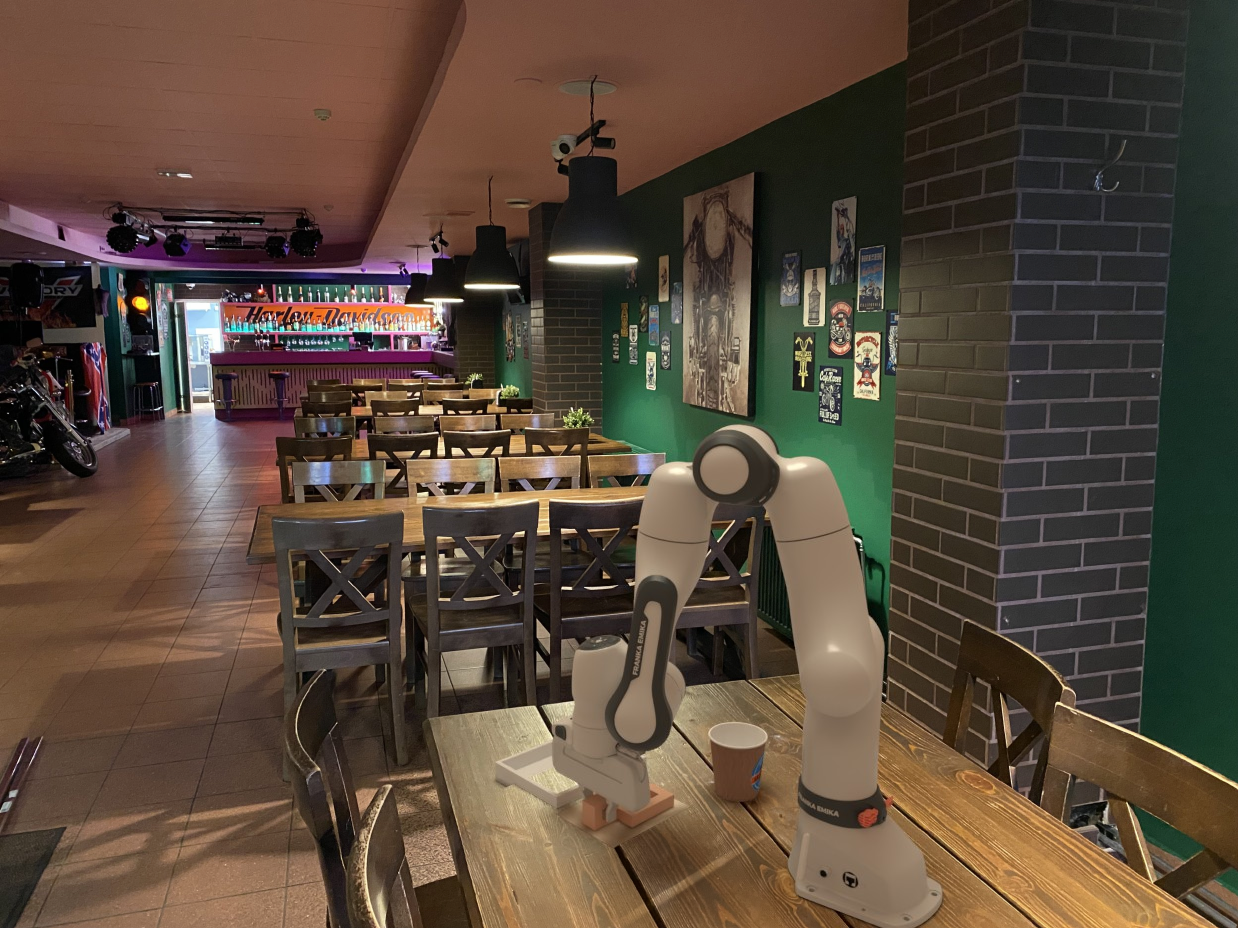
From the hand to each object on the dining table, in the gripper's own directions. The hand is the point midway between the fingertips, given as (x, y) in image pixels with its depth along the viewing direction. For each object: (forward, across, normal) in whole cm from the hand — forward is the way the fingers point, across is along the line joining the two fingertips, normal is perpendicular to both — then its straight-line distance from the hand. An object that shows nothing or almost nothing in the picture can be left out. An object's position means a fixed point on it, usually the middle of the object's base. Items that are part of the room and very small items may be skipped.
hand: (599, 814), depth 145 cm
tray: (+3, +17, -8) cm, 19 cm away
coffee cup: (+3, -9, -24) cm, 26 cm away
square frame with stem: (+1, 0, -5) cm, 5 cm away
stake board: (+3, 0, -6) cm, 6 cm away
